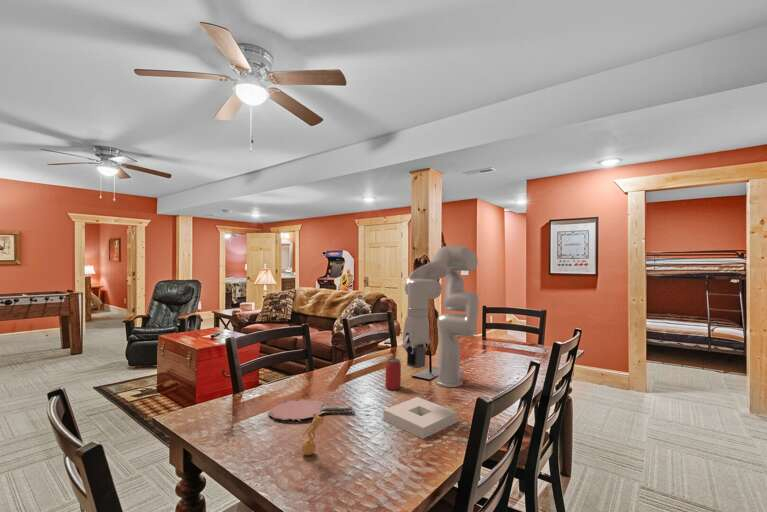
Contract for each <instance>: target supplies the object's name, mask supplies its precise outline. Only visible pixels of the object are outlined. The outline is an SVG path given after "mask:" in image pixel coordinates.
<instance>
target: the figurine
mask: <svg viewBox="0 0 767 512" xmlns="http://www.w3.org/2000/svg"><path fill="white" fill-rule="evenodd" d="M320 416H321V415H317V414H316V413H314V414H313V417H312V418H313V419H312V420H313V421H311V423H310V425H309V426H308V428H307V429H306V430H304V432H303V434H302V437H304V436H305V435H306V434H307V435H308V438H309V439H306V440H304V441H303V442H302V444H301V452H302V454H304V455H305V456H311V455H313V454H314V453H315V451H316V447H317V446H316V445H317V444H316V442H315V441H314V439H315V437H316V433H315V432H316V431H317V430H318V428H319V425H323V423H324V421H325V417H323V416H321V417H320ZM311 434H312V435H311Z"/></svg>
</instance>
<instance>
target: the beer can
mask: <svg viewBox="0 0 767 512" xmlns="http://www.w3.org/2000/svg"><path fill="white" fill-rule="evenodd" d="M401 368H402V364H401V361H400V359H399V358H388V359H387V360H386V363H385V385H384V386H385V388H386V389H387V390H389V391H397V390H399V389H400V388H401V382H402V381H401V380H402V379H401V378H402V377H401V376H402V374H401V373H402V372H401V371H402V369H401Z"/></svg>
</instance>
